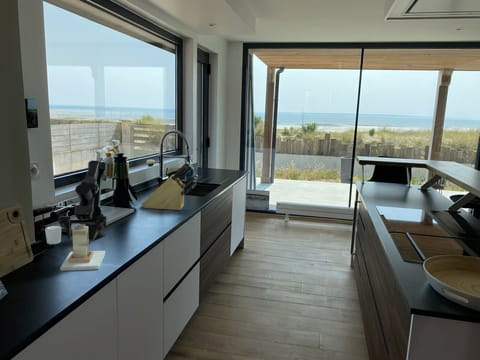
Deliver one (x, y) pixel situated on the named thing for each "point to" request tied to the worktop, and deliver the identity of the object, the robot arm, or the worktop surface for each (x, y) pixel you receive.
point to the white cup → (53, 234)
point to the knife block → (171, 191)
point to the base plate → (83, 261)
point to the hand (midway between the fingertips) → (81, 240)
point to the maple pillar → (80, 242)
